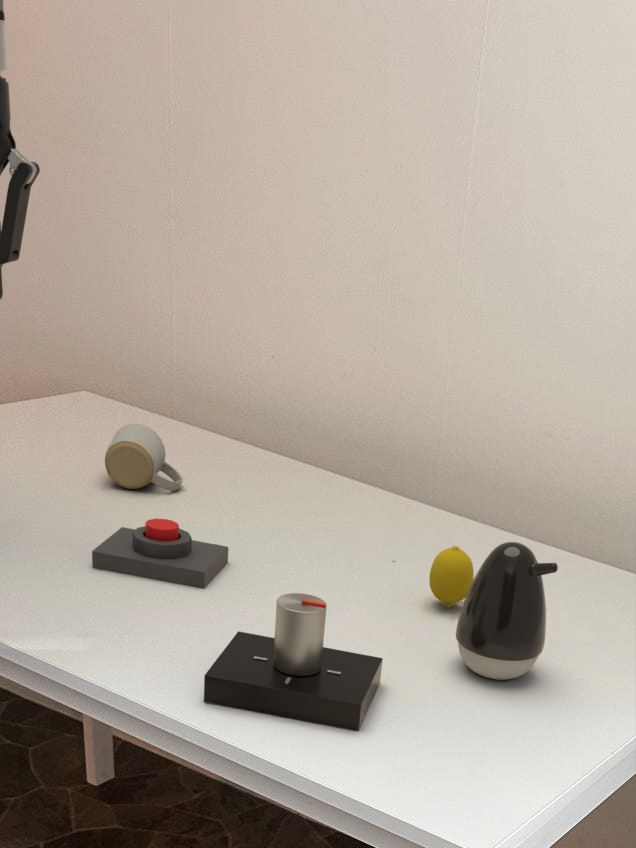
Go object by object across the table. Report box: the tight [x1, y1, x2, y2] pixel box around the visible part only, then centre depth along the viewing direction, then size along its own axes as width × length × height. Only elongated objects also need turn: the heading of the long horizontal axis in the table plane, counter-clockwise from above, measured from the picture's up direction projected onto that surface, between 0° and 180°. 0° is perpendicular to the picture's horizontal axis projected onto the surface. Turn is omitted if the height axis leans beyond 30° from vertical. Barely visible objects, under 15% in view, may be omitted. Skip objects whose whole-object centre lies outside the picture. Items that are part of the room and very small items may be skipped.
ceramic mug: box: [104, 423, 184, 492], centre depth 172 cm, size 11×8×8 cm
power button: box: [144, 518, 180, 541], centre depth 146 cm, size 4×4×2 cm
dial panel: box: [203, 630, 384, 732], centre depth 124 cm, size 16×12×3 cm
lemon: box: [429, 545, 475, 608], centre depth 149 cm, size 6×6×8 cm
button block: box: [91, 525, 229, 589], centre depth 147 cm, size 14×10×4 cm
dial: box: [273, 592, 328, 676], centre depth 121 cm, size 5×5×7 cm
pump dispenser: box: [455, 541, 559, 681], centre depth 133 cm, size 10×10×15 cm
